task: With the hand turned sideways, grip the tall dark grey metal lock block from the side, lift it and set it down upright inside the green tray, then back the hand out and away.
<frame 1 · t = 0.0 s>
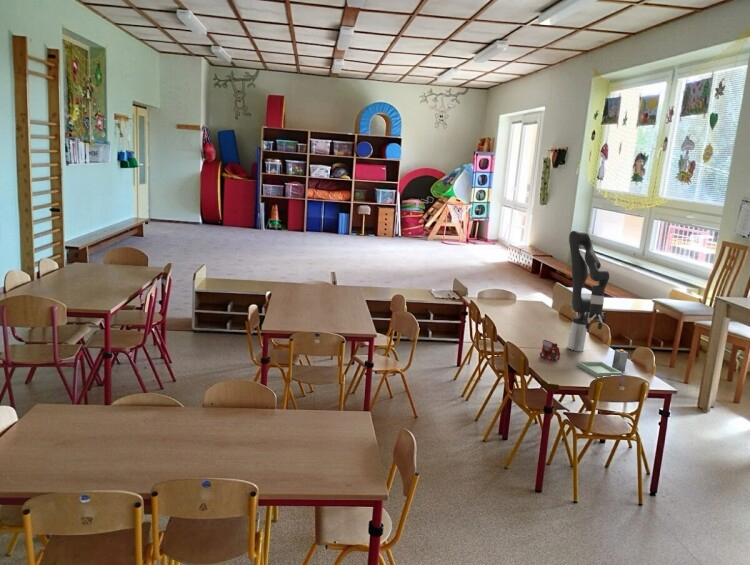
hand: (593, 329, 364), 17 cm above the table, tool pointing down, fingers open, 8 cm apart
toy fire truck: (549, 359, 354), on the table
lock block: (618, 369, 347), on the table
green tray: (598, 372, 339), on the table
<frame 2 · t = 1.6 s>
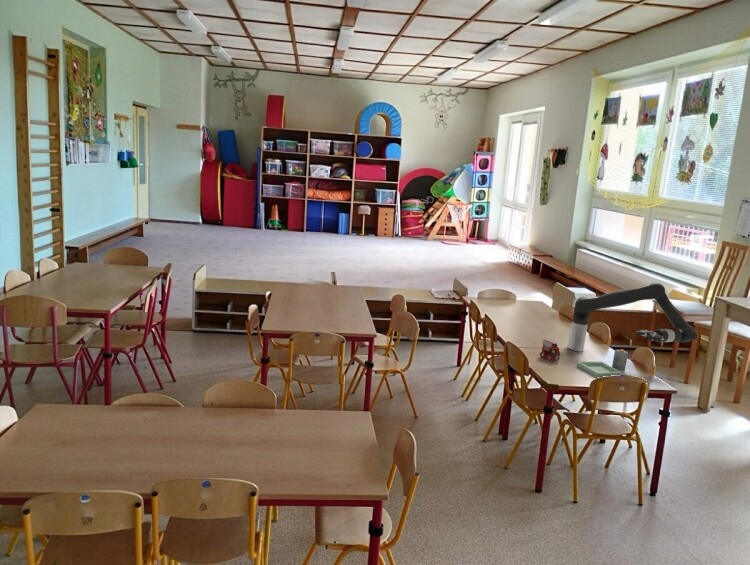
hand: (640, 335, 346), 20 cm above the table, tool horizontal, fingers open, 8 cm apart
nothing on the table moved.
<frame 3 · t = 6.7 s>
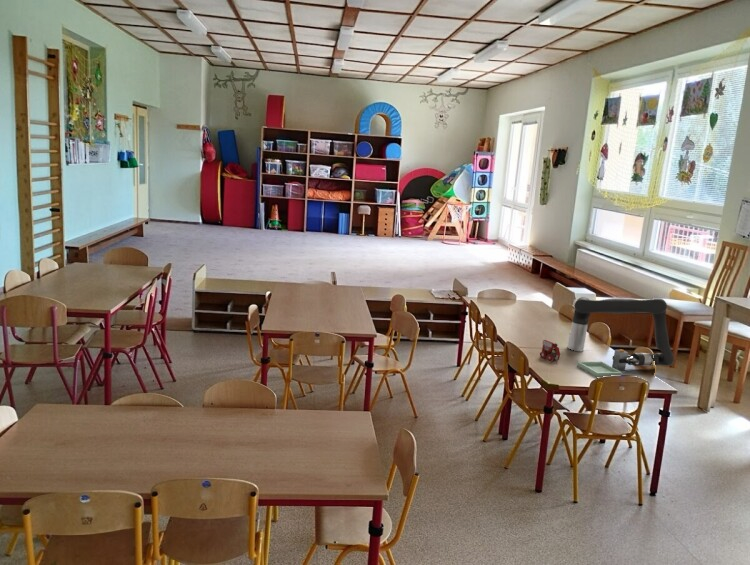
hand: (616, 359, 345), 6 cm above the table, tool horizontal, fingers closed on lock block, 5 cm apart
lock block: (618, 369, 347), on the table, touching gripper
everything else where it was.
when the fingers open (8 cm above the table, at t = 12.3 s): lock block drops 1 cm, resting on green tray.
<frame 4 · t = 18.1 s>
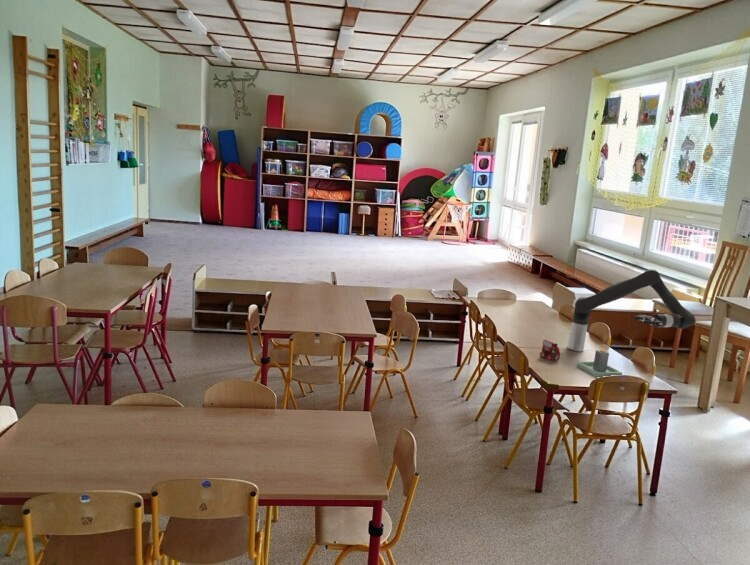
hand: (638, 320, 341), 30 cm above the table, tool horizontal, fingers open, 8 cm apart
lock block: (599, 370, 339), point 1 cm above the table, touching green tray
everything else where it was.
at the end: lock block inside the target area on the green tray (0.1 cm from its centre), point 1.0 cm above the green tray's base; lock block tilted 0°; the gripper is holding nothing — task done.
